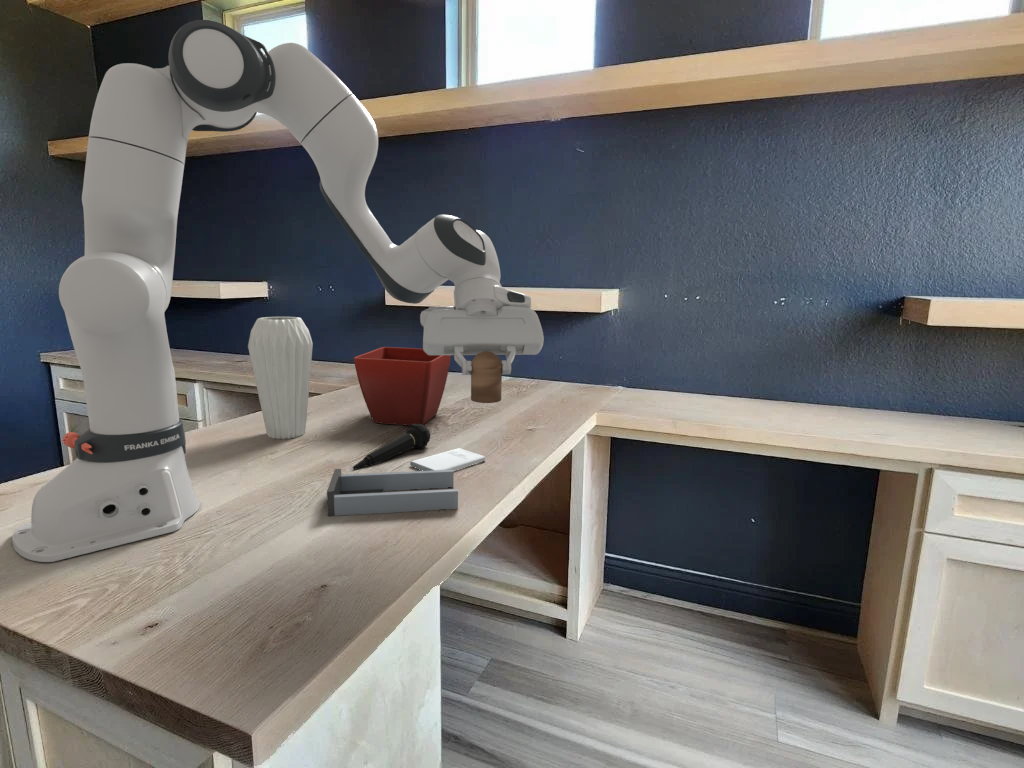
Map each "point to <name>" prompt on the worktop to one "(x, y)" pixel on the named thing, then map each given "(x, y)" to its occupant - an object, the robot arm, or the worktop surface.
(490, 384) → the peg
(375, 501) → the channel
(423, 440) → the microphone
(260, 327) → the vase
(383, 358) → the plant pot
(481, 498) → the worktop surface
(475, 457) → the external hard drive
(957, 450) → the worktop surface
